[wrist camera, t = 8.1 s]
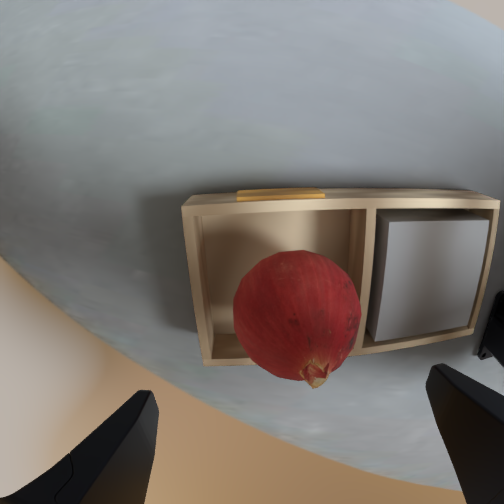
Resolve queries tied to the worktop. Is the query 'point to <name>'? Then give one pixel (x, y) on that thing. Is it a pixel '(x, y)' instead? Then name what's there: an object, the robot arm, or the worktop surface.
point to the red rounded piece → (297, 315)
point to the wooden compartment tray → (347, 257)
